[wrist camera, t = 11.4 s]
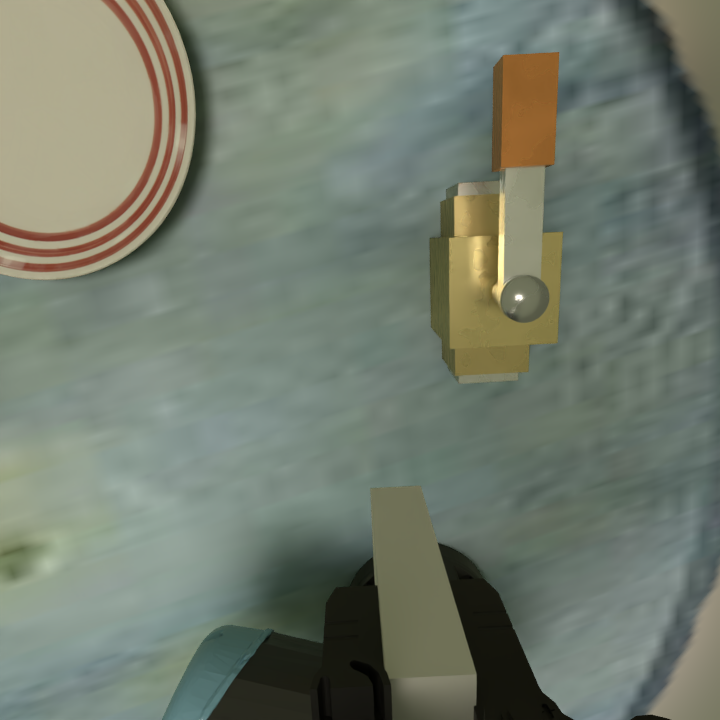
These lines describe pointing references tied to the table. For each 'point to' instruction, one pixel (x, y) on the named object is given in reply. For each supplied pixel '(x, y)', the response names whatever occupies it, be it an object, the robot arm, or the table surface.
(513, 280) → the valve lever
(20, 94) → the dinner plate
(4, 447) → the table surface
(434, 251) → the valve pipe
